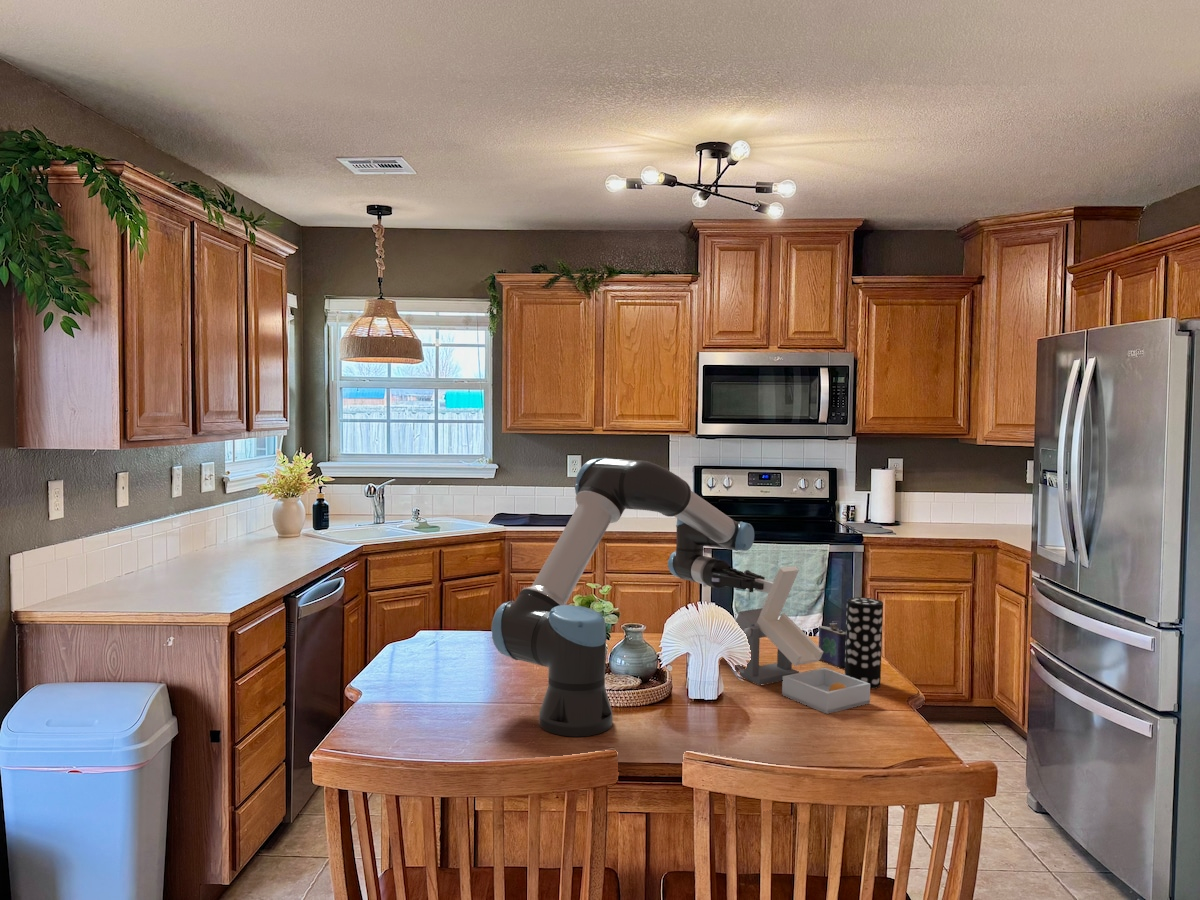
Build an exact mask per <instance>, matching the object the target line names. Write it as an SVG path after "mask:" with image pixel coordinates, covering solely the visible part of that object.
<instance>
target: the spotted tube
mask: <svg viewBox="0 0 1200 900" xmlns="http://www.w3.org/2000/svg"><path fill="white" fill-rule="evenodd" d="M883 608H884V602H883V601H882V600H880V599H876V598H870V597H859V596H858V597H850V598H847V599H846V617H845V619H846V620H845V621H846V622H845V633H846V645H845V669H844V675H847V676H850V677H853V678H855V679H858V680H861V681H864V682H867V683H870V688H874V689H877V688H876V687H878V688H880V687H881V679H882V678H881V673H882V647H883V646H882V645H883V643H882V642H883V617H884V615H883V614H884V613H883V612H884V609H883ZM879 686H880V687H879Z"/></svg>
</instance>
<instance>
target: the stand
mask: <svg viewBox="0 0 1200 900" xmlns="http://www.w3.org/2000/svg"><path fill="white" fill-rule="evenodd" d="M744 633H745V634H746V636H747V639H748V643H749V645H750V650H751V660H750V662H749V663H748V664H747V668H746V669H744V668H743V669H744V670H743V669H738V670H739V672H740V675H741V676H742V677H743V678H745V679H747V680H749V681H751V682H754V683H756V684H758V685H757V686H759V685H761V684H765V685H768V684H767V683H770V684H773V683H772V682H775V683H778V682H777V681H780V682H782V680H783V676H786V675H791V674H796V673H800V671H799V670H797V669H793V668H792V666H793V664H792V663H791V662H790V661H789V660H788V658H787V657H786V656H785V655H784V654H783V653H782V652H781V651H780V650H779V649H778V648H777V653H776V654H777V657H776V658H777V659H776V662H774V663H768V664H763V665H760V640H761V638H760V628H758V627H755V626H752V625H751V626H745V629H744ZM747 680H746V681H747ZM749 681H748V682H749ZM751 682H750V683H751ZM754 683H753V684H754ZM756 684H755V685H756ZM761 686H762V685H761Z"/></svg>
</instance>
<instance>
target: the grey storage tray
mask: <svg viewBox="0 0 1200 900" xmlns="http://www.w3.org/2000/svg"><path fill="white" fill-rule="evenodd" d="M834 683H841V684H843V685H845V687H846V688H842V689H838V690H834V691H829V689H830V687H831V685H833V684H834ZM781 684H782V686H781V687H782V689H781V692H782V693H781V696H782V695H783V696H782V697H784V696H786V697H785V698H787V697H788V698H787V699H789V698H790V699H789V700H791V701H794V700H795V701H794V702H796V701H797V703H799V702H800V704H801V703H802V704H801V705H804V706H806V705H807V706H806V707H808V708H812V709H814V710H816V711H819V712H821V713H823V714H827V715H829V713H830V714H834V713H837V712H840V711H845V710H849V709H853V707H854V708H858V707H861V705H862V706H865V704H866V705H868V704H869V703H870V702H871V701H870V700H871V689H870V683H867V682H864V681H861V680H858V679H855V678H853V677H850V676H847V675H845V673H844V674H843V673H841V672H838V671H835V670H833V669H830V668H826V667H821V668H817V669H816V668H815V669H812V670H811V669H810V670H808V671H802V672H799V673H796V674H791V675H786V676H783V681H781ZM857 706H858V707H857Z"/></svg>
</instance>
